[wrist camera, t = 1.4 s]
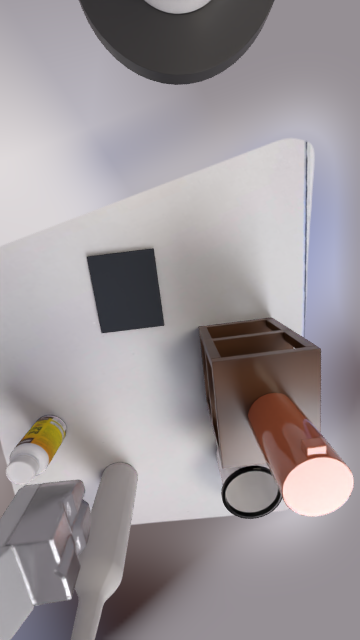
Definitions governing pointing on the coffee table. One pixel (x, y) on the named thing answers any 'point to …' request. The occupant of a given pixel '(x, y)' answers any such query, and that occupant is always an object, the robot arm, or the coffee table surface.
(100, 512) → the bottle
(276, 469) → the orange two-handled pot
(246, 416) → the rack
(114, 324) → the mat
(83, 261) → the coffee table surface
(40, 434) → the supplement bottle
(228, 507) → the mug
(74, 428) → the coffee table surface
